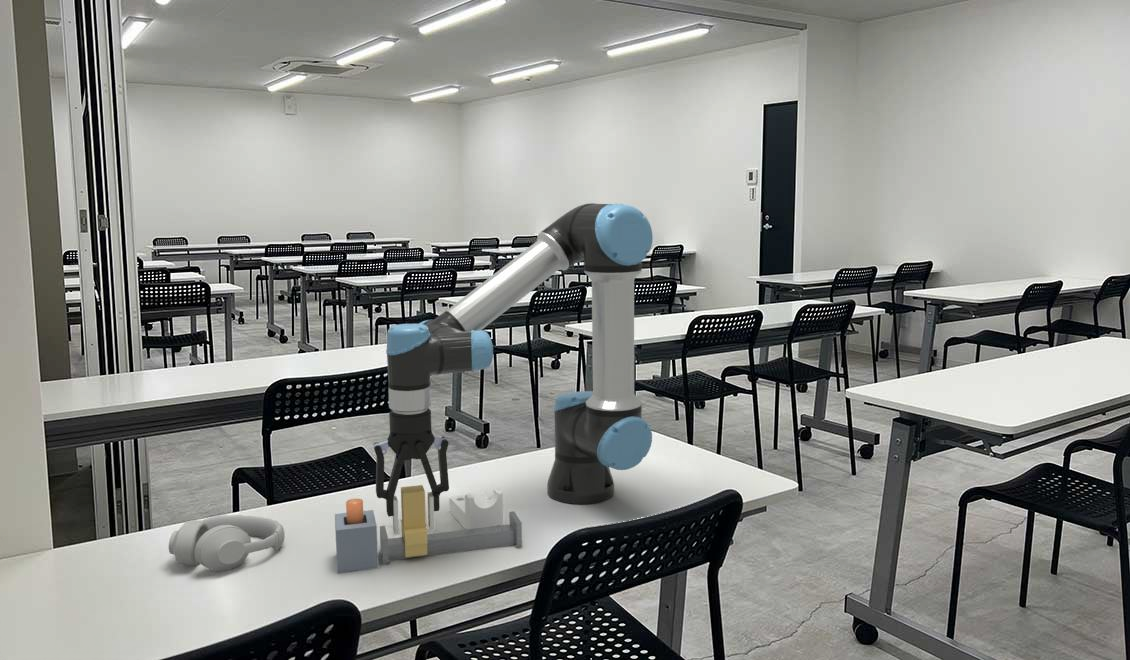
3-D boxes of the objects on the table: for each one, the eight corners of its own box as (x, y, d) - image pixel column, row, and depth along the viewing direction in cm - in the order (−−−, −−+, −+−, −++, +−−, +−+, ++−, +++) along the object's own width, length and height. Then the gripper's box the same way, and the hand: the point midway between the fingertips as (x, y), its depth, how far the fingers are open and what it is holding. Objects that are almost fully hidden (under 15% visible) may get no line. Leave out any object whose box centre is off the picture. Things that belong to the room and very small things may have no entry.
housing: (374, 550, 159) (373, 509, 157) (378, 567, 151) (376, 525, 150) (336, 554, 157) (334, 514, 155) (338, 572, 149) (336, 530, 148)
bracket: (503, 528, 169) (502, 493, 168) (470, 534, 166) (469, 498, 165) (480, 507, 181) (480, 473, 180) (449, 512, 178) (448, 478, 177)
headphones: (229, 582, 144) (301, 551, 163) (231, 537, 144) (303, 512, 163) (146, 566, 150) (225, 539, 169) (147, 523, 150) (226, 500, 169)
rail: (514, 535, 165) (514, 511, 165) (521, 547, 160) (521, 522, 159) (380, 551, 158) (379, 526, 157) (383, 564, 152) (382, 538, 151)
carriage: (422, 541, 161) (421, 482, 159) (427, 556, 154) (426, 494, 152) (401, 543, 159) (399, 484, 158) (405, 559, 153) (403, 496, 151)
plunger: (363, 523, 155) (362, 497, 154) (364, 529, 152) (363, 503, 151) (346, 525, 154) (345, 499, 153) (347, 531, 151) (346, 505, 150)
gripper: (457, 400, 159) (460, 516, 162) (355, 408, 153) (360, 527, 157) (464, 410, 152) (467, 531, 155) (358, 418, 146) (363, 543, 150)
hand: (413, 529), depth 156 cm, fingers open, 6 cm apart
